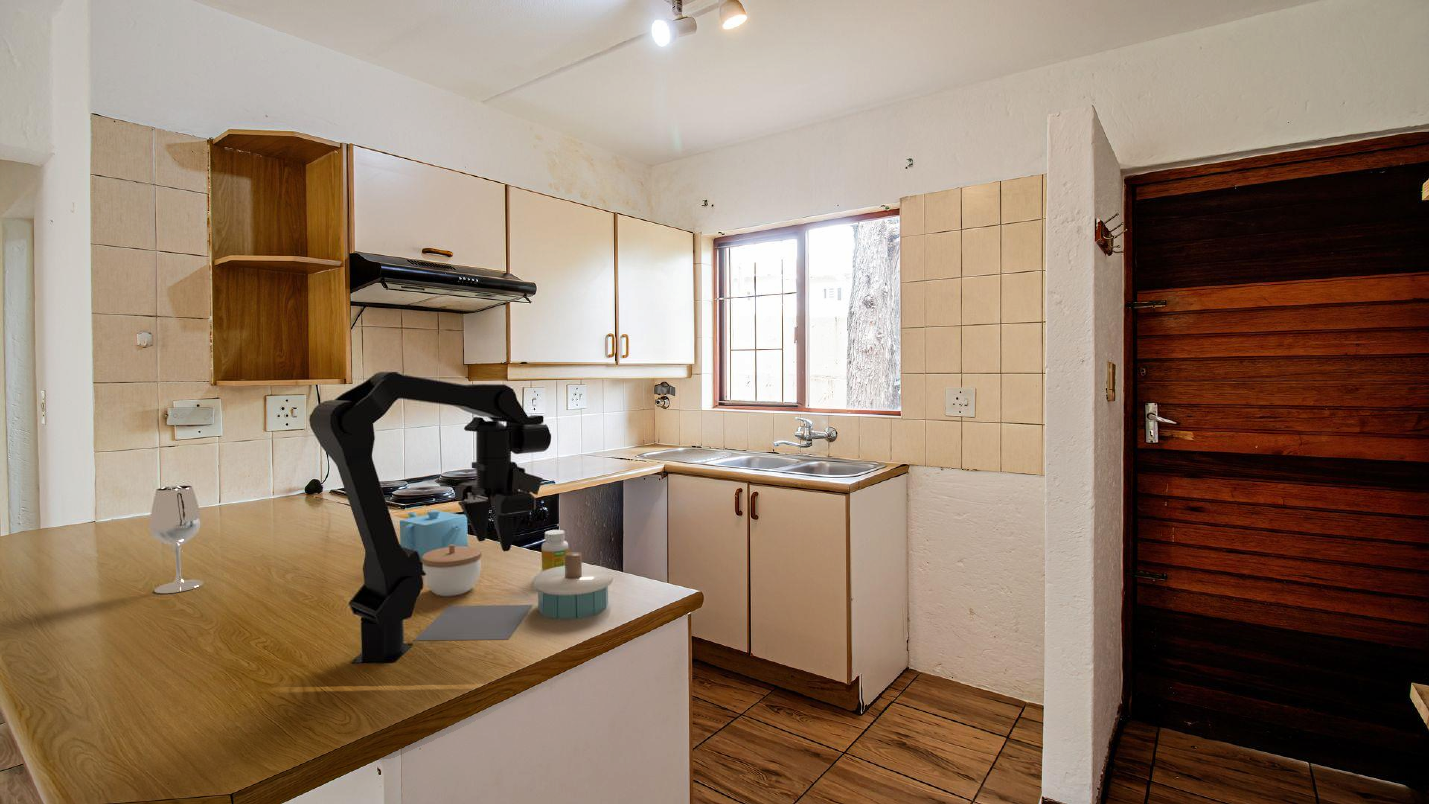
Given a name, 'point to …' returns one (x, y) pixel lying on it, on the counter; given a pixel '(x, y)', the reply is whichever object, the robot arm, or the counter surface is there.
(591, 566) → the lid
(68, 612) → the counter surface
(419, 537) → the teapot
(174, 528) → the wineglass
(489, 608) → the mat
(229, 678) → the counter surface
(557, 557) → the supplement bottle
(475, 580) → the lidded jar
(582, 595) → the bowl
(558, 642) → the counter surface
